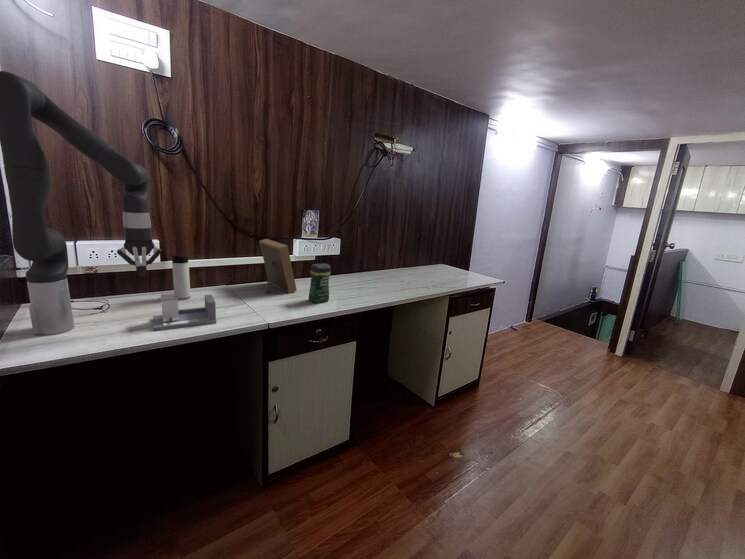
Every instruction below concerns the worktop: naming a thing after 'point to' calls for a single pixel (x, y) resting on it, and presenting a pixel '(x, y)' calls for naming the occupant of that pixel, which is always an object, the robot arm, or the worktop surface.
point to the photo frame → (278, 265)
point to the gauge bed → (189, 316)
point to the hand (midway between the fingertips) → (142, 276)
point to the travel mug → (181, 276)
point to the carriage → (170, 307)
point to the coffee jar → (319, 282)
